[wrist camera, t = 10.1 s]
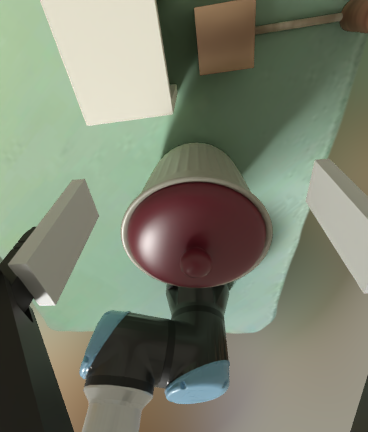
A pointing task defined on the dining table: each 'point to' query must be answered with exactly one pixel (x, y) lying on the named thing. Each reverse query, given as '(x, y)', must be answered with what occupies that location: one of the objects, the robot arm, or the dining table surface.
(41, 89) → the dining table surface
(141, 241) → the canister
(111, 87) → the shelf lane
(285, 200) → the dining table surface
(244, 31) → the block with cord
